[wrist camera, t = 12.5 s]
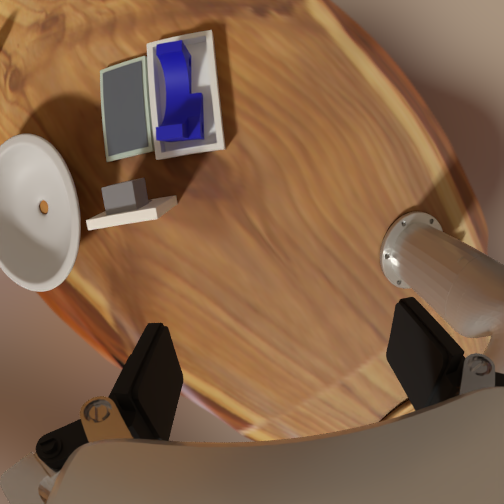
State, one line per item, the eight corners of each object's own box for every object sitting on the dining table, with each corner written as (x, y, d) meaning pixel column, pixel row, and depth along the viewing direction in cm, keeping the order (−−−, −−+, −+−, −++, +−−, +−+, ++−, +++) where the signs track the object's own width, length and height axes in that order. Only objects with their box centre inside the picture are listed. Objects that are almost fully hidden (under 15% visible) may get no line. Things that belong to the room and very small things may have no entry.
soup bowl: (7, 260, 38) (-13, 273, 32) (7, 135, 31) (-18, 137, 24) (102, 288, 40) (83, 308, 34) (110, 134, 33) (87, 132, 26)
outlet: (172, 171, 35) (150, 177, 26) (177, 203, 36) (157, 218, 28) (113, 183, 35) (80, 193, 26) (119, 213, 36) (88, 230, 28)
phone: (147, 58, 29) (144, 55, 28) (155, 151, 34) (152, 151, 32) (103, 72, 29) (99, 70, 28) (110, 161, 34) (106, 162, 33)
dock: (213, 36, 29) (211, 29, 26) (225, 149, 34) (224, 148, 32) (152, 49, 29) (146, 43, 26) (161, 159, 34) (156, 160, 32)
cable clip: (204, 138, 33) (196, 135, 28) (170, 142, 33) (156, 140, 27) (202, 54, 29) (195, 38, 23) (169, 59, 29) (156, 44, 23)
